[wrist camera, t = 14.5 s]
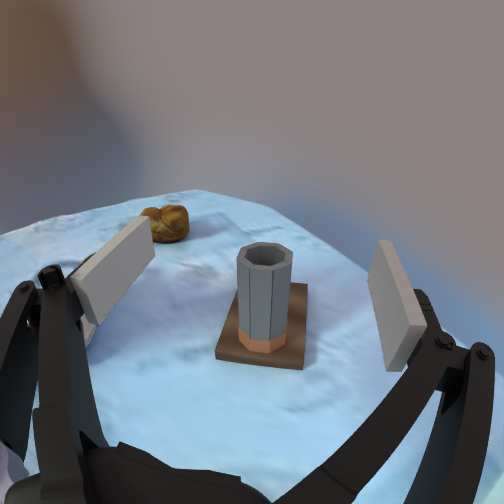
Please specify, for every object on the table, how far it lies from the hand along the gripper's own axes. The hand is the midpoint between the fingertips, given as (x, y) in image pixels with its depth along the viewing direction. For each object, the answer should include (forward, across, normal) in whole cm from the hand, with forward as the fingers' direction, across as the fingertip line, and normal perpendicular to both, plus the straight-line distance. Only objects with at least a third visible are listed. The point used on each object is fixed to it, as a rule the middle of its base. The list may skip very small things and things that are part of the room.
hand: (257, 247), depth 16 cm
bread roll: (+36, -26, -21) cm, 49 cm away
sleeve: (+10, 0, -18) cm, 20 cm away
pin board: (+14, 0, -19) cm, 24 cm away
